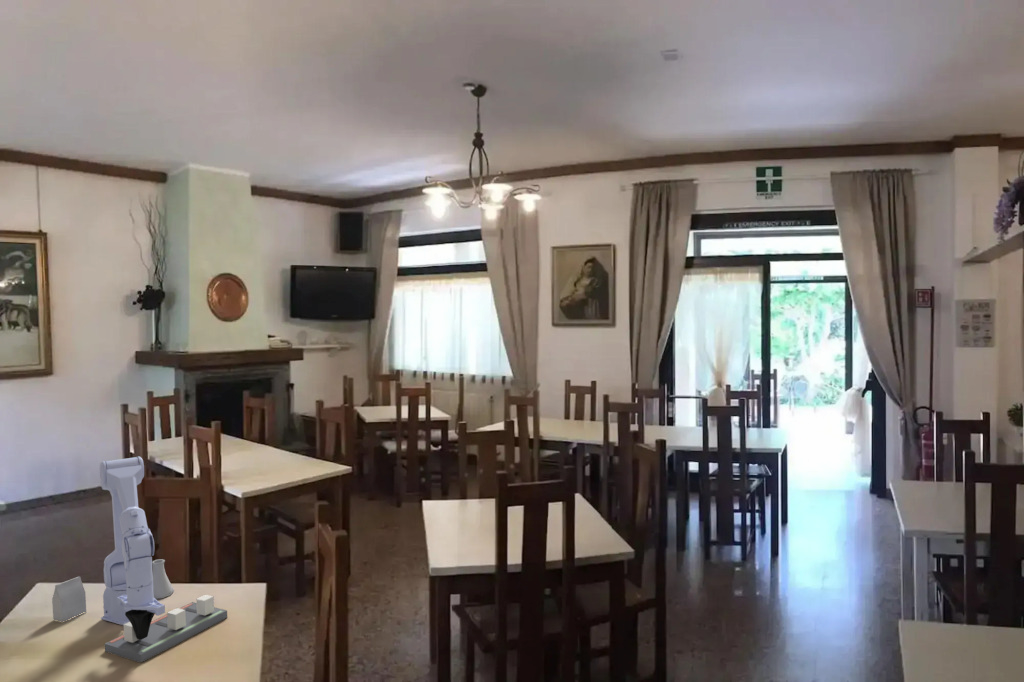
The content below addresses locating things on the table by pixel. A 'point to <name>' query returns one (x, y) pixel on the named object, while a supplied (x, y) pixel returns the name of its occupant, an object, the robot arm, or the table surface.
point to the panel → (164, 634)
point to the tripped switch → (129, 633)
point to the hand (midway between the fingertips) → (142, 637)
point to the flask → (160, 580)
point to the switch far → (205, 604)
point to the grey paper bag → (68, 599)
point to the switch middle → (176, 618)
